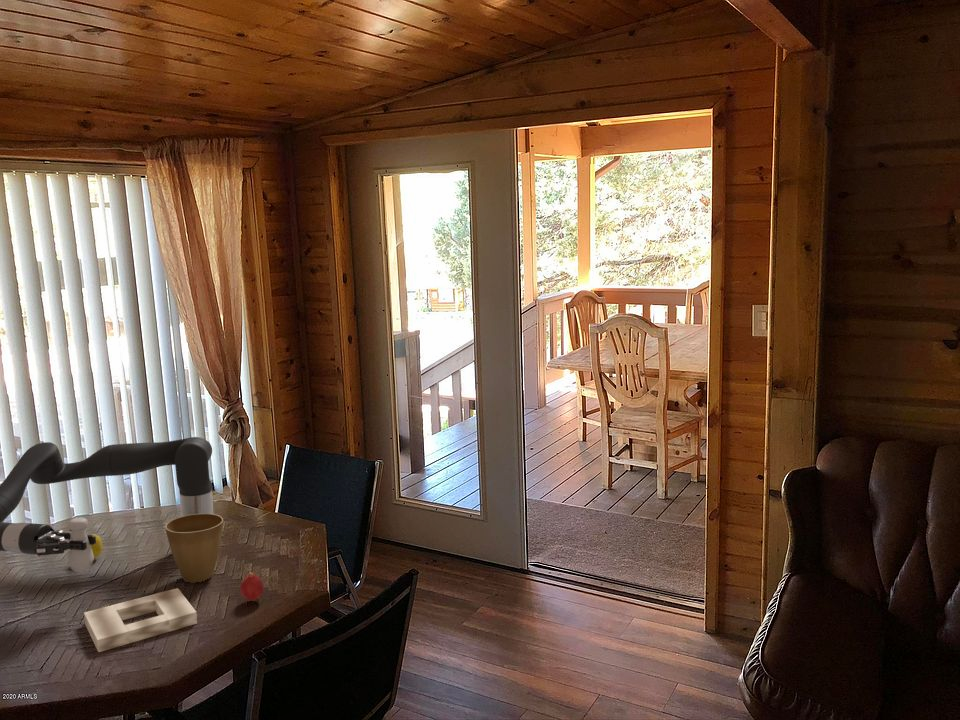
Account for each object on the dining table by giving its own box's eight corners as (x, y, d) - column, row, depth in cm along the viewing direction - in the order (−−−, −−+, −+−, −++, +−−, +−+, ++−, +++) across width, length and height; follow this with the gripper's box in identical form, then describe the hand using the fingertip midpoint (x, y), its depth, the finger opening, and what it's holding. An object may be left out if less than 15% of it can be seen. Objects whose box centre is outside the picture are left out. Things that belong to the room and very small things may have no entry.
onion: (243, 596, 201) (242, 567, 199) (266, 595, 201) (264, 567, 200) (238, 607, 195) (237, 577, 194) (261, 606, 195) (260, 577, 194)
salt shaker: (99, 565, 195) (96, 516, 193) (81, 574, 189) (77, 524, 187) (82, 562, 197) (78, 513, 194) (63, 571, 191) (59, 521, 189)
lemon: (95, 564, 220) (92, 538, 219) (78, 562, 221) (75, 536, 220) (107, 556, 226) (105, 530, 224) (91, 555, 227) (89, 529, 225)
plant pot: (236, 576, 212) (233, 521, 210) (184, 594, 202) (181, 537, 199) (209, 561, 223) (206, 508, 220) (159, 577, 212) (155, 522, 209)
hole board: (178, 598, 199) (177, 587, 199) (197, 623, 187) (196, 611, 186) (85, 624, 186) (84, 612, 186) (98, 652, 174) (97, 640, 173)
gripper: (5, 535, 186) (70, 539, 184) (46, 514, 200) (106, 518, 198) (8, 564, 188) (73, 569, 185) (48, 541, 201) (108, 545, 199)
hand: (90, 542), depth 191 cm, fingers closed on salt shaker, 3 cm apart
